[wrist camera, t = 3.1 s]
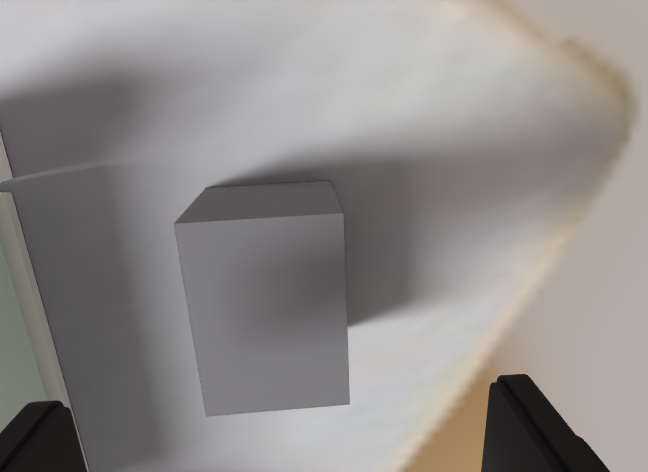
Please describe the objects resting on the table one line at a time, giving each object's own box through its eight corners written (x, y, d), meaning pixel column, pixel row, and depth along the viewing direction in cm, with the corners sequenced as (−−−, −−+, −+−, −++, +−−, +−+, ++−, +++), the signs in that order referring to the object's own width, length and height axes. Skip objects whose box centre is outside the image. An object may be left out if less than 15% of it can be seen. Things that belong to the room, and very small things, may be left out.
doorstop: (206, 186, 17) (173, 223, 13) (330, 179, 17) (343, 213, 13) (227, 337, 20) (206, 416, 15) (336, 329, 20) (349, 404, 15)
